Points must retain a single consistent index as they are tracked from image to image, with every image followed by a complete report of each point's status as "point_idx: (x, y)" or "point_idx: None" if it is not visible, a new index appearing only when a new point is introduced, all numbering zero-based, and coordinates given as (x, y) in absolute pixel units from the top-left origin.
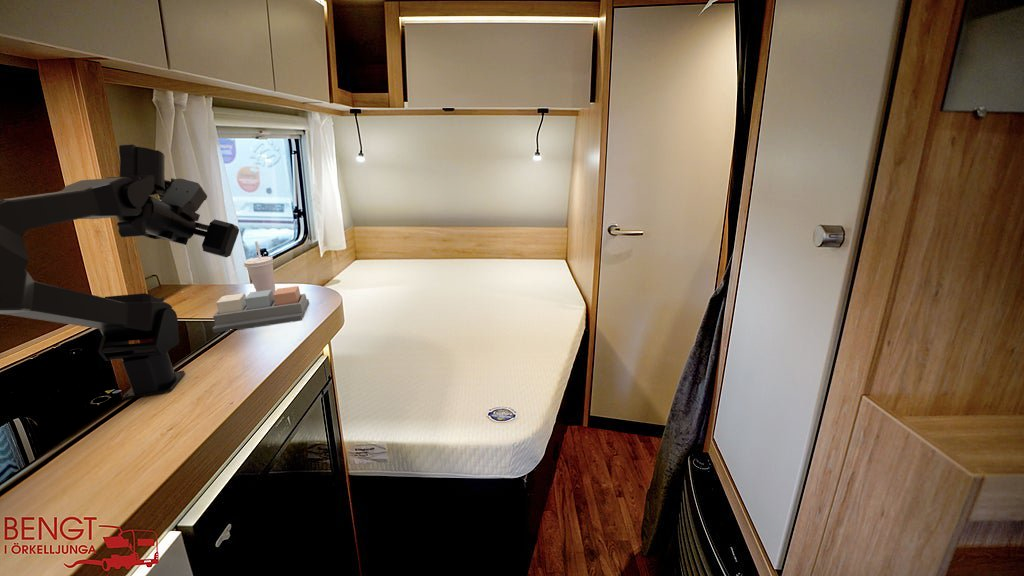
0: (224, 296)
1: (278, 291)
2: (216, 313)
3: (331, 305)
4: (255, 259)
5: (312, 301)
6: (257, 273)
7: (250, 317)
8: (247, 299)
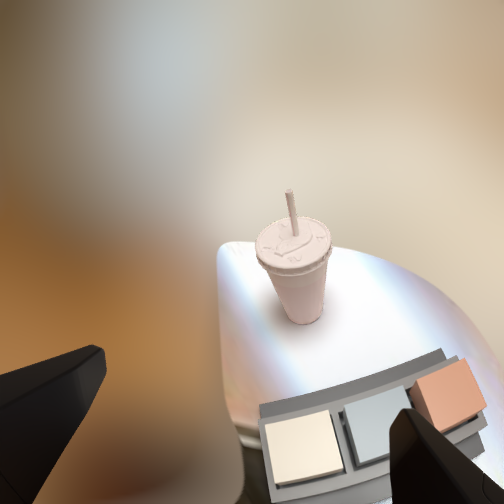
0: (272, 429)
1: (435, 403)
2: (271, 484)
3: (496, 365)
4: (284, 239)
5: (438, 342)
6: (301, 285)
7: (365, 481)
8: (366, 460)
